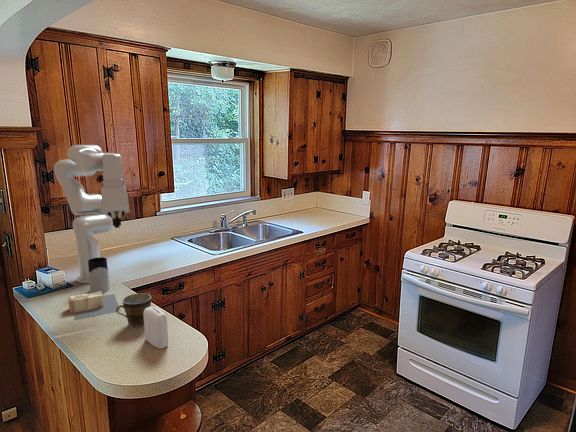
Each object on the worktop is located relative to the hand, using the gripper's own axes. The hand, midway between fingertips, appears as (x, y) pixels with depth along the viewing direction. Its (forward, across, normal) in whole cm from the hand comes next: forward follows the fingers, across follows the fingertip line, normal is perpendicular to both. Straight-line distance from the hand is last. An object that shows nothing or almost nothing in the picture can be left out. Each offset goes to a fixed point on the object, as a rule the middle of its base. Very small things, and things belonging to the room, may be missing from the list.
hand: (117, 227), depth 162 cm
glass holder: (+31, +8, -13) cm, 35 cm away
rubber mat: (+31, +11, +7) cm, 34 cm away
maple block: (+28, +8, +7) cm, 30 cm away
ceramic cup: (+31, 0, +31) cm, 44 cm away
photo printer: (+31, -4, +48) cm, 57 cm away
